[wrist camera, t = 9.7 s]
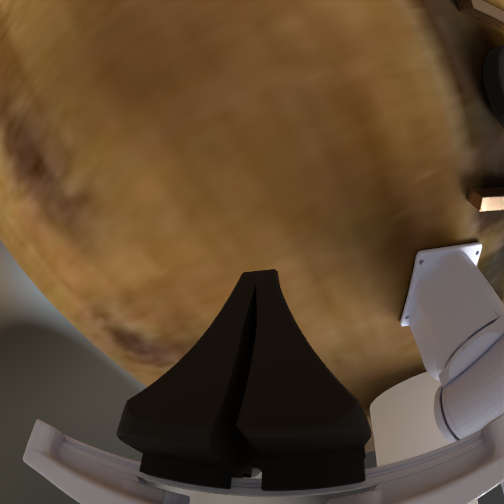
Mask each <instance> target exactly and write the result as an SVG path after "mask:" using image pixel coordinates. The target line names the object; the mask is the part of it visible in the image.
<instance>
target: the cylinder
mask: <svg viewBox="0 0 504 504" xmlns="http://www.w3.org/2000/svg"><path fill="white" fill-rule="evenodd" d="M440 386H441V382H440V381H438V380H436V379H435V378H434V377H432V376H431V375H430V374H429V373H428V372H424V373H421V374H419V375H416V376H414V377H411V378H409V379H407V380H405V381H403V382H401V383H399V384H397V385H395V386H393V387H391V388H390V389H388V390H386V391H385V392H383V393H382V394H381V395H379V396H378V397H377V398H376V399H375V400H374V401H373V402H372V403H371V405H370V415H371V421H372V428H373V435H374V442H375V450H376V458H377V467H379V466H383V465H387V464H391V463H395V462H398V461H402V460H405V459H409V458H412V457H415V456H418V455H421V454H424V453H427V452H430V451H433V450H436V449H438V448H441V447H443V446H446V445H448V444H451V443H450V442H449V441H447V440H446V439H445V438H444V437H443V435H442V434H441V432H440V431H439V429H438V426H437V424H436V420H435V416H434V399H435V394H436V391H437V389H438V388H439V387H440ZM470 504H478V500H477V499H476V500H474V501H473V502H471V503H470Z"/></svg>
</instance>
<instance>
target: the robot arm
mask: <svg viewBox="0 0 504 504" xmlns="http://www.w3.org/2000/svg"><path fill="white" fill-rule="evenodd" d="M481 249H482V244H481V243H480V242H476V243H469V244H463V245H456V246H449V247H442V248H436V249H429V250H422V251H419V252H418V253H417V255H416V259H415V264H414V269H413V274H412V278H411V283H410V287H409V291H408V295H407V299H406V303H405V307H404V310H403V314H402V318H401V321H400V324H401V326H408V325H409V326H410V329H411V331H412V334H413V336H414V339H415V341H416V344H417V347H418V349H419V352H420V355H421V358H422V361H423V364H424V366H425V368H426V370H427V371H428V373H429V374H430V375H431V376H432V377H434V378H435V379H436V380H438V381H440V382H441V386H440V387H439V388H438V389H437V391H436V394H435V399H434V416H435V420H436V424H437V426H438V429H439V431H440V432H441V434H442V435H443V437H444V438H445V439H446V440H447V441H449V442H450V443H451V444H448V445H446V446H443V447H441V448H438V449H436V450H433V451H430V452H427V453H424V454H421V455H418V456H415V457H412V458H409V459H405V460H402V461H398V462H395V463H391V464H387V465H383V466H379V467H374V468H370V469H365V467H364V459H365V448H364V446H365V444H366V443H367V442H368V440H369V439H370V437H371V429H370V426H369V422H368V420H367V417H366V415H365V413H364V411H363V409H362V407H361V406H360V404H359V402H358V400H357V399H356V398H355V397H354V396H353V395H352V394H351V393H350V392H349V391H348V390H347V389H346V388H345V387H344V386H343V385H342V384H341V383H340V382H339V381H338V380H337V378H336V377H335V376H334V375H333V374H332V373H331V372H330V371H329V369H328V368H327V367H326V366H325V364H324V363H323V362H322V361H321V359H320V358H319V357H318V355H317V354H316V353H315V352H314V350H313V349H312V347H311V346H310V344H309V343H308V341H307V340H306V338H305V337H304V335H303V334H302V332H301V330H300V329H299V327H298V325H297V323H296V322H295V320H294V318H293V316H292V314H291V312H290V310H289V308H288V306H287V303H286V301H285V299H284V296H283V294H282V291H281V288H280V283H279V277H278V271H276V270H275V269H271V270H262V271H253V272H244V273H243V274H242V275H241V277H240V279H239V281H238V282H237V284H236V286H235V288H234V290H233V291H232V293H231V295H230V297H229V298H228V300H227V302H226V303H225V305H224V306H223V308H222V310H221V311H220V313H219V314H218V315H217V317H216V318H215V320H214V321H213V322H212V324H211V325H210V327H209V328H208V329H207V331H206V332H205V333H204V334H203V336H202V337H201V338H200V339H199V340H198V342H197V343H196V344H195V345H194V346H193V347H192V348H191V349H190V350H189V352H188V353H187V354H186V355H185V356H184V357H183V358H182V359H181V360H180V361H179V362H178V363H177V364H176V365H174V366H173V367H172V368H171V369H170V370H169V371H167V372H166V373H165V374H164V375H163V376H162V377H160V378H159V379H158V380H157V381H155V382H154V383H153V384H151V385H150V386H149V387H147V388H146V389H144V390H143V391H141V392H140V393H138V394H137V395H135V396H134V397H132V398H131V399H129V400H128V401H127V403H126V405H125V408H124V410H123V413H122V417H121V421H120V423H119V427H118V430H117V436H118V438H119V439H120V440H121V441H123V442H124V443H126V444H127V445H129V446H131V447H133V448H135V449H136V450H138V451H140V452H141V453H143V456H142V461H141V462H138V461H134V460H131V459H127V458H124V457H121V456H117V455H114V454H111V453H108V452H105V451H103V450H100V449H97V448H94V447H92V446H89V445H87V444H84V443H81V442H79V441H77V440H75V439H72V438H70V437H67V436H65V435H64V434H63V433H61V432H60V431H59V430H57V429H56V428H54V427H52V426H50V425H48V424H46V423H44V422H42V421H41V420H39V419H38V420H36V423H35V425H34V428H33V431H32V433H31V436H30V439H29V442H28V445H27V448H26V451H25V454H24V457H23V461H24V462H25V463H27V464H28V465H29V466H31V467H32V468H34V469H35V470H36V471H38V472H39V473H40V474H41V475H43V476H44V477H45V478H47V479H48V480H49V481H50V482H52V483H53V484H54V485H55V486H57V487H58V488H59V489H61V490H62V491H64V492H65V493H66V494H68V495H69V496H70V497H72V498H73V499H75V500H76V501H77V502H79V503H81V504H189V502H190V497H189V496H186V495H182V494H178V493H174V492H170V491H167V490H164V489H160V488H157V487H153V486H149V485H148V483H147V481H146V480H149V481H152V482H156V483H160V484H164V485H168V486H173V487H178V488H183V489H188V490H195V491H200V492H207V493H214V494H223V495H234V496H250V497H294V496H309V495H310V496H311V495H321V494H330V493H338V492H344V491H350V490H356V489H361V488H367V487H371V486H374V487H373V488H372V489H371V490H370V492H365V493H360V494H355V495H350V496H345V497H339V498H332V499H330V500H329V501H328V502H327V504H470V503H471V502H473V501H474V500H476V499H478V498H479V497H480V496H482V495H484V494H485V493H487V492H488V491H490V490H491V489H493V488H494V487H495V486H497V485H498V484H500V483H501V486H502V489H503V492H504V305H503V303H502V301H501V300H500V298H499V297H498V295H497V294H496V293H495V291H494V290H493V288H492V287H491V285H490V284H489V283H488V281H487V280H486V278H485V277H484V276H483V274H482V273H481V272H480V270H479V269H478V268H477V266H476V265H477V262H478V259H479V256H480V252H481ZM420 260H422V261H421V262H419V261H420ZM260 472H262V479H249V478H251V477H255V476H257V475H258V474H259V473H260ZM243 477H245V478H243Z"/></svg>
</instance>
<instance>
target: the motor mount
mask: <svg viewBox="0 0 504 504" xmlns="http://www.w3.org/2000/svg"><path fill="white" fill-rule="evenodd" d="M456 2H457V6H458V9H459V11H461V12H463V13H466V14H469V15H471V16H474V17H476V18H479V19H481V20H483V21H486V22H488V23H490V24H492V25H494V26H496V27H498V28H500V29H502V30H504V11H502V10H500V9H498V8H497V7H495V6H493V5H491V4H489V3H487V2H485V1H483V0H456ZM467 201H469V202H470V203H471V204H472V205H473V206H475V207H476V208H477V209H478V210H479V211H491V210H504V187H469V193H468V200H467Z"/></svg>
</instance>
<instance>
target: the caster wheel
mask: <svg viewBox="0 0 504 504" xmlns="http://www.w3.org/2000/svg"><path fill="white" fill-rule="evenodd" d="M483 82H484V87H485V91H486V94H487V97H488V100H489V102H490V105H491V107H492V110H493V112H494V113H495V115H496V117H497V119H498V120H499V122H500V123H501V125H502V126H503V127H504V45H502V46H500V47H497V48H495V49H492V50H491V51H490V52H488V53H487V55H486V57H485V59H484V62H483Z"/></svg>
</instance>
